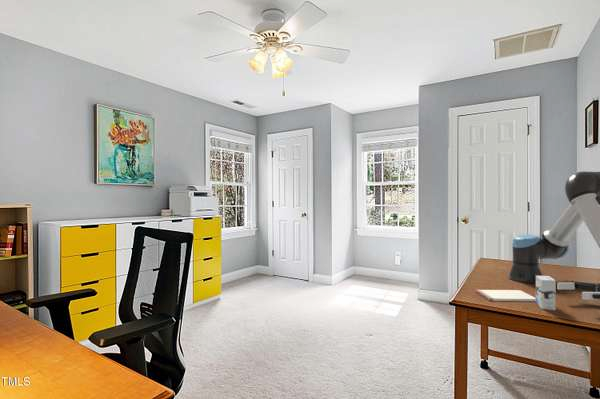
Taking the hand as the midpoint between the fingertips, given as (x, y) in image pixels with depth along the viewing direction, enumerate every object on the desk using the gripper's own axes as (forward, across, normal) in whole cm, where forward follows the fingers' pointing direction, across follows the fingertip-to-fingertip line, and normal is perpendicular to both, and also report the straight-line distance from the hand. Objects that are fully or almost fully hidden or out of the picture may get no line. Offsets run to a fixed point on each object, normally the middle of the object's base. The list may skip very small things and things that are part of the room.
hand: (569, 290), depth 137 cm
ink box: (+9, 0, -7) cm, 12 cm away
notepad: (+18, +13, -7) cm, 23 cm away
